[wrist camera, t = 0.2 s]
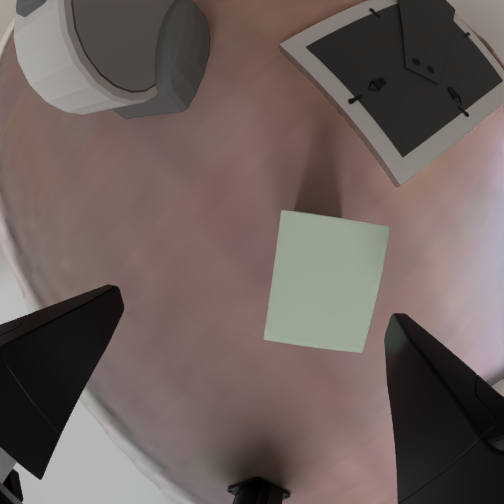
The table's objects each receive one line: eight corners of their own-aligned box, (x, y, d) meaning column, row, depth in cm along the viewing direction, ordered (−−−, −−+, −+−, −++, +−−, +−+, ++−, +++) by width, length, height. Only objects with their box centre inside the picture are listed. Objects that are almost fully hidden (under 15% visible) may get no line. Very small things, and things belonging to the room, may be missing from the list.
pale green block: (332, 278, 23) (362, 352, 10) (285, 271, 23) (263, 339, 11) (342, 218, 22) (389, 226, 9) (293, 210, 23) (281, 209, 10)
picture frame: (416, -8, 17) (281, 55, 21) (422, -21, 14) (277, 40, 19) (507, 95, 17) (393, 187, 22) (520, 88, 14) (403, 185, 19)
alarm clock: (137, 17, 22) (44, -60, 4) (218, 0, 21) (149, -117, 3) (109, 137, 25) (-44, 100, 7) (199, 129, 23) (38, 29, 5)
